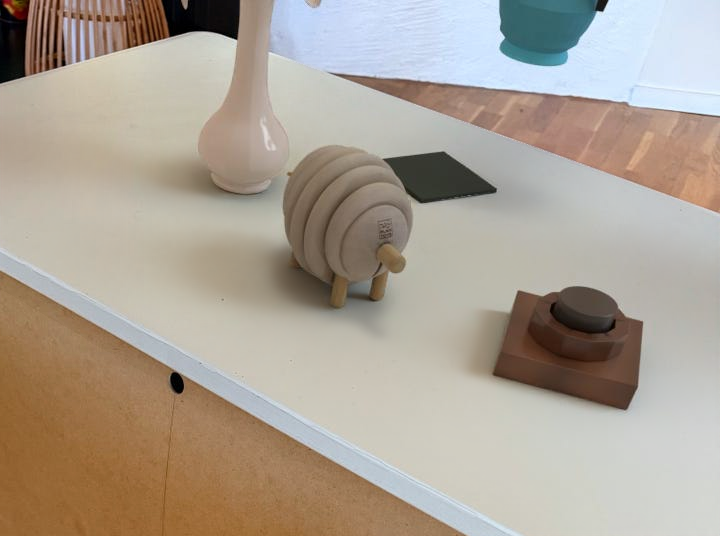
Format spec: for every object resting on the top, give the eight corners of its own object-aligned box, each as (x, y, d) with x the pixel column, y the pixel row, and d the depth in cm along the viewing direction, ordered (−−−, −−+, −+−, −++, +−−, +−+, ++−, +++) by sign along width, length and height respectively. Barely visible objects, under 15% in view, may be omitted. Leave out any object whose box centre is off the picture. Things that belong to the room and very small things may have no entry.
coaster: (496, 192, 100) (497, 188, 99) (421, 203, 96) (422, 199, 96) (443, 154, 105) (443, 151, 105) (370, 163, 101) (370, 159, 101)
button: (611, 314, 77) (620, 294, 75) (608, 342, 74) (616, 322, 72) (554, 300, 77) (562, 280, 76) (548, 327, 74) (556, 307, 73)
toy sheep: (332, 234, 89) (353, 110, 81) (440, 319, 81) (477, 190, 72) (239, 252, 85) (251, 123, 77) (343, 344, 76) (369, 210, 68)
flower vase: (127, 175, 94) (127, -142, 75) (269, 145, 102) (301, -146, 83) (200, 229, 87) (221, -102, 69) (345, 193, 96) (398, -111, 77)
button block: (633, 343, 81) (652, 301, 78) (626, 410, 74) (648, 366, 71) (510, 312, 82) (524, 270, 79) (492, 374, 75) (507, 330, 72)
